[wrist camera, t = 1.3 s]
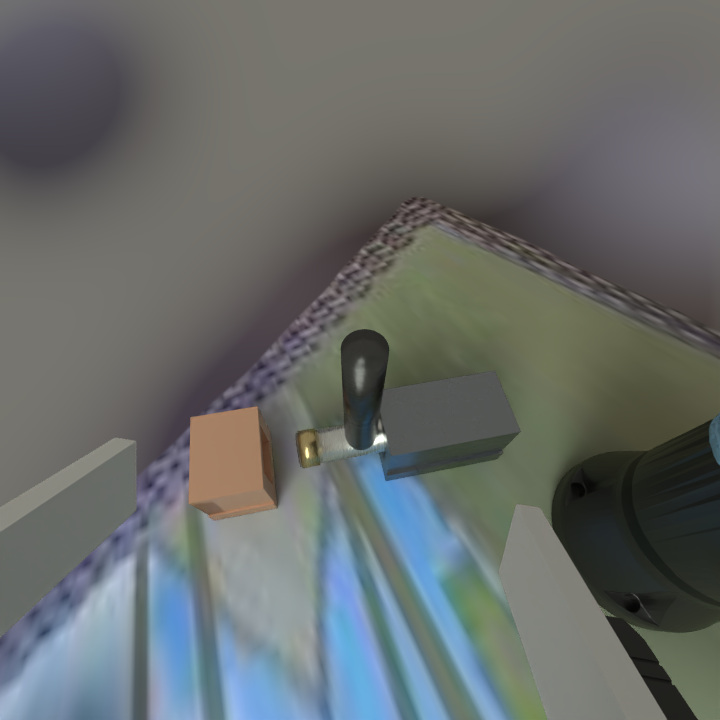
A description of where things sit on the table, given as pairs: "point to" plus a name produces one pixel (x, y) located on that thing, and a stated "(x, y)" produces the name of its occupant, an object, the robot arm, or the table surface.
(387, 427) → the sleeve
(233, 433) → the tan box
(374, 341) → the l-shaped tool
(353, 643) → the table surface
